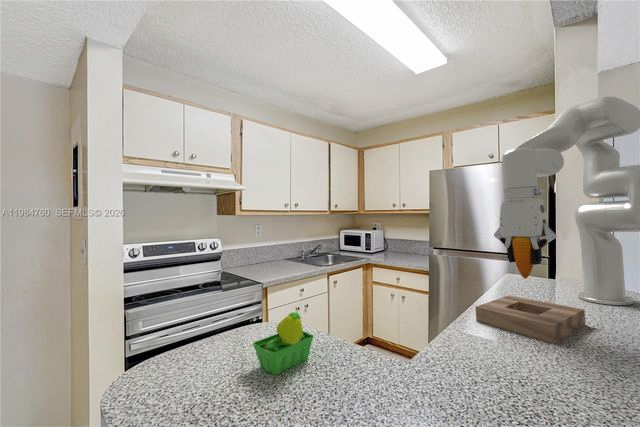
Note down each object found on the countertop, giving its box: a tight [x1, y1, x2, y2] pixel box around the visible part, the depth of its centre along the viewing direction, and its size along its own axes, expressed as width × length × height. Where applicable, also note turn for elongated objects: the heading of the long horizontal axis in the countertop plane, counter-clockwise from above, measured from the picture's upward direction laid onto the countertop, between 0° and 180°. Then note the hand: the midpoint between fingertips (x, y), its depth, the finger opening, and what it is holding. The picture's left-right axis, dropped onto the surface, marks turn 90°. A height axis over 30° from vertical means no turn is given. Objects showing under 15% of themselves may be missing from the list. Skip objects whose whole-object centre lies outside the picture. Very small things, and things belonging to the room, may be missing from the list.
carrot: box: [512, 227, 534, 279], centre depth 77 cm, size 5×5×15 cm
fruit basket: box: [252, 311, 314, 376], centre depth 61 cm, size 11×9×11 cm
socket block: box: [474, 294, 586, 344], centre depth 76 cm, size 18×18×4 cm
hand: (524, 262), depth 77 cm, fingers closed on carrot, 4 cm apart
